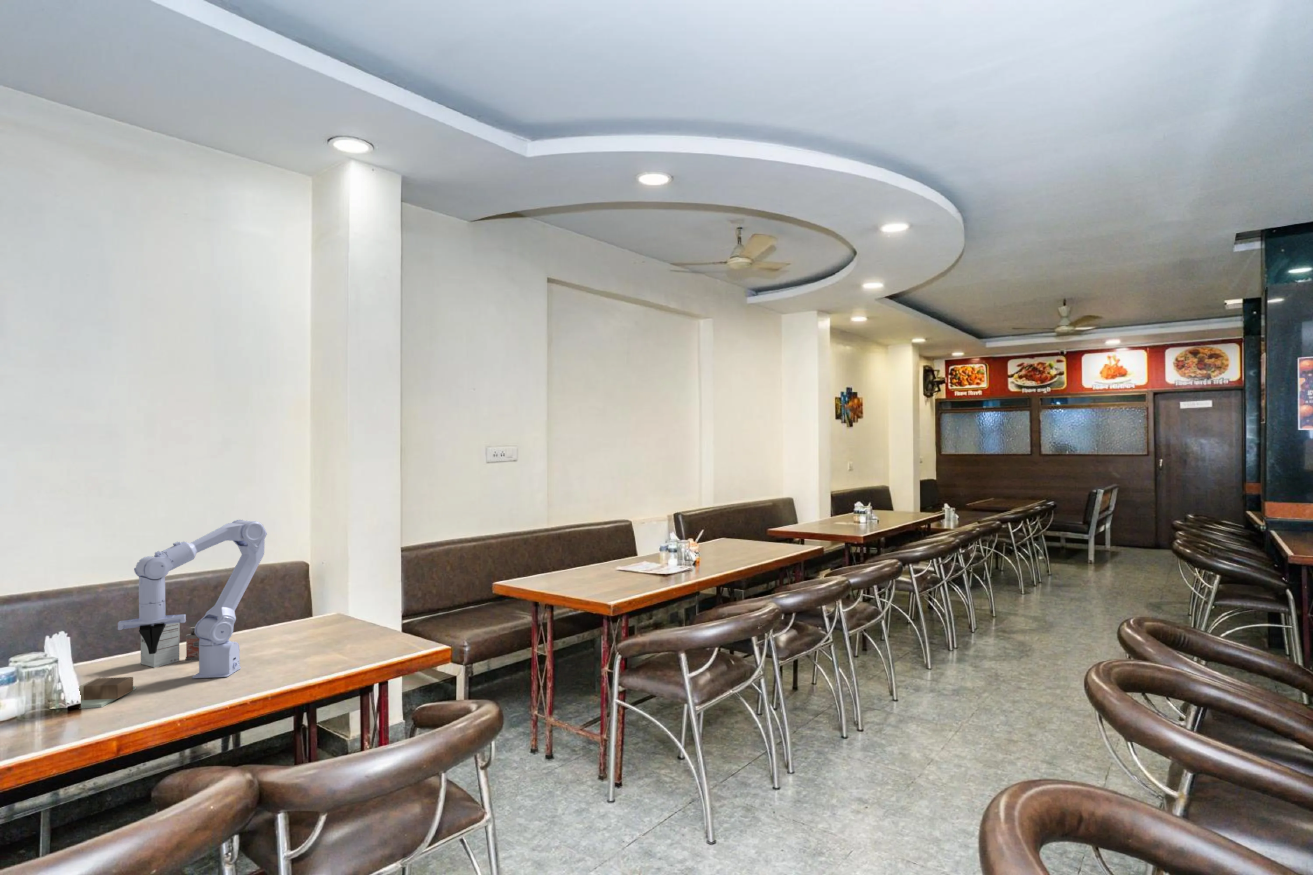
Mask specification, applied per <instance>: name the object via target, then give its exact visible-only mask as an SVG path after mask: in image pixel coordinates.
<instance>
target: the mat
mask: <svg viewBox="0 0 1313 875" xmlns="http://www.w3.org/2000/svg"><path fill="white" fill-rule="evenodd" d="M136 687H137V686H136V685H133V691H135V690H136ZM116 700H117V699H97V700H81V708H80V709H89V708H90V709H93V708H94V709H95V708H103V707H104V706H107V705H108V704H109V705H110V703H112V702H114V701H116Z"/></svg>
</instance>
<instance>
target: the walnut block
mask: <svg viewBox="0 0 1313 875" xmlns="http://www.w3.org/2000/svg"><path fill="white" fill-rule="evenodd" d="M133 686H134V677H133V676H123V677H121V676H120V677H96V678H94V679H92V680H90V681H88V682H86V683H83V684H81V685H79V687H78V689H79V691H80V695H81V700H97V699H116V700H117V699H119V698H122V697H123V696H125V695H128V694H129V693H131V692H134V690H133Z"/></svg>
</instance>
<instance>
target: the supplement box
mask: <svg viewBox="0 0 1313 875" xmlns="http://www.w3.org/2000/svg"><path fill="white" fill-rule="evenodd" d="M159 623H160V622H159ZM176 662H180V623H172V624H166V626H165V628H164V630H163V632H162V634H161V636H160V639H159V642H158V646H157V652H156V653H155V654H149V651H148V647H147V645H146V642H145V640H144V639H143V637H142V636H141V635H140V665H143V666H148V667H151V668H158V667H163V666H166V665H170V664H174V663H176Z"/></svg>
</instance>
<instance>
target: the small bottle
mask: <svg viewBox="0 0 1313 875" xmlns="http://www.w3.org/2000/svg"><path fill="white" fill-rule="evenodd" d="M189 632H190V633H188V634H186V635H185V642H186V643H185V644H186V645H185V646H186V647H185V648H186V649H185V650H186V653H185V661H187V662H188V661H199V637H197V636H196V634H195V626H192V627H189Z"/></svg>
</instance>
